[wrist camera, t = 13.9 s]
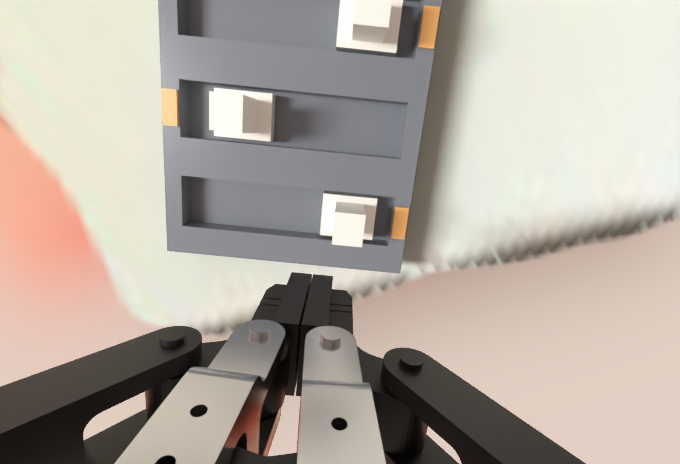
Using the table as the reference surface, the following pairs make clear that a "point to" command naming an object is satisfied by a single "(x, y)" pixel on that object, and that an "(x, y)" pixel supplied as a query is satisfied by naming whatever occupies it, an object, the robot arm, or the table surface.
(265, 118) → the tab
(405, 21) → the switch bank
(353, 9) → the tab
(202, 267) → the table surface
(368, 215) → the tab
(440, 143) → the table surface
